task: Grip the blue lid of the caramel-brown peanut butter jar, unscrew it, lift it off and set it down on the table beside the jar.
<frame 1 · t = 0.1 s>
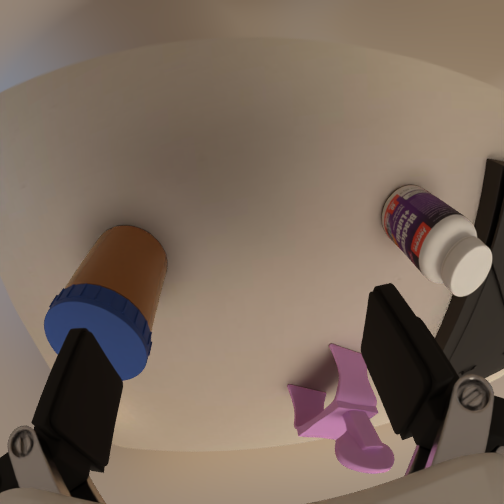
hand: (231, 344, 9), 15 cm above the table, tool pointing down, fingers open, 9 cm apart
toy chair: (325, 371, 34), on the table
jar: (129, 260, 24), on the table
pill bottle: (404, 211, 24), on the table
jar lid: (94, 341, 16), point 9 cm above the table, screwed on, not yet turned
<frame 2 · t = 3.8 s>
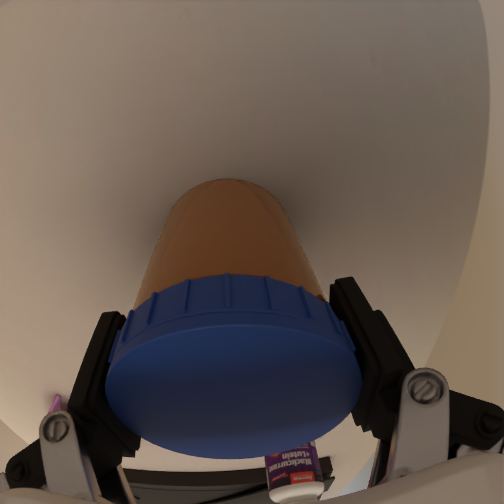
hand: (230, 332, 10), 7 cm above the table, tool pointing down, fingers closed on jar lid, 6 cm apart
jar: (227, 240, 16), on the table
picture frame: (213, 494, 40), on the table
pill bottle: (287, 435, 28), on the table
jar lid: (234, 404, 7), point 9 cm above the table, screwed on, not yet turned, touching gripper
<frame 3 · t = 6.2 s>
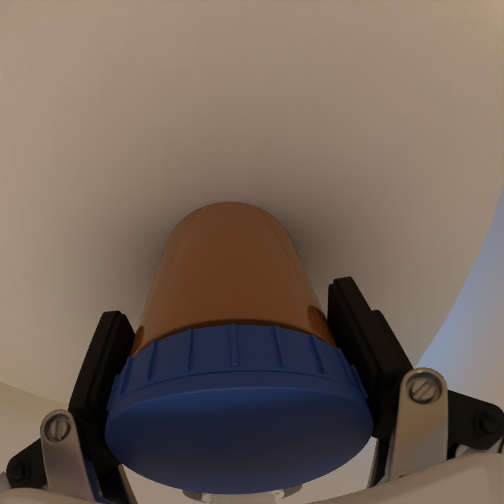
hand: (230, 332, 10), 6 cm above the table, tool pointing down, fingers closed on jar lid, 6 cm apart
jar: (229, 265, 15), on the table
jar lid: (240, 449, 7), point 10 cm above the table, turned 104° so far, risen 0.1 cm, still on its thread, touching gripper
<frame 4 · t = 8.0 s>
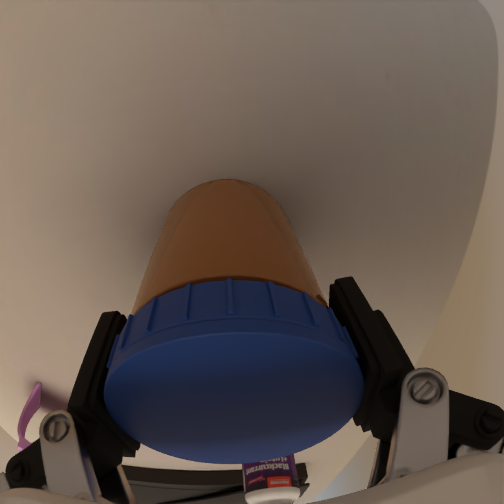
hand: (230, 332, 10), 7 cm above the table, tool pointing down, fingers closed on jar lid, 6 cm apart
toy chair: (70, 409, 24), on the table
jar: (226, 241, 16), on the table
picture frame: (185, 493, 39), on the table
pill bottle: (265, 439, 28), on the table
jar lid: (235, 410, 7), point 10 cm above the table, turned 109° so far, risen 0.2 cm, still on its thread, touching gripper
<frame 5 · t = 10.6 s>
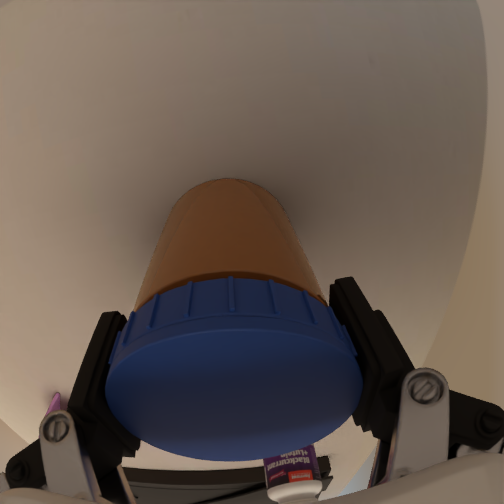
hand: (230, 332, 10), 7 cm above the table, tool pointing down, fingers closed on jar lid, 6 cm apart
jar: (227, 239, 16), on the table
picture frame: (211, 493, 40), on the table
pill bottle: (285, 434, 28), on the table
jar lid: (234, 407, 7), point 10 cm above the table, turned 207° so far, risen 0.3 cm, still on its thread, touching gripper
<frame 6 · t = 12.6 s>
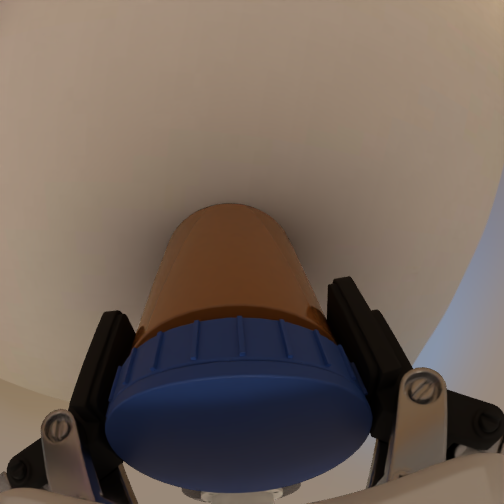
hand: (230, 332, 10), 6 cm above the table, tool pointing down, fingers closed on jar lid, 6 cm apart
jar: (229, 265, 16), on the table, touching gripper
jar lid: (239, 444, 7), point 10 cm above the table, turned 310° so far, risen 0.4 cm, still on its thread, touching gripper
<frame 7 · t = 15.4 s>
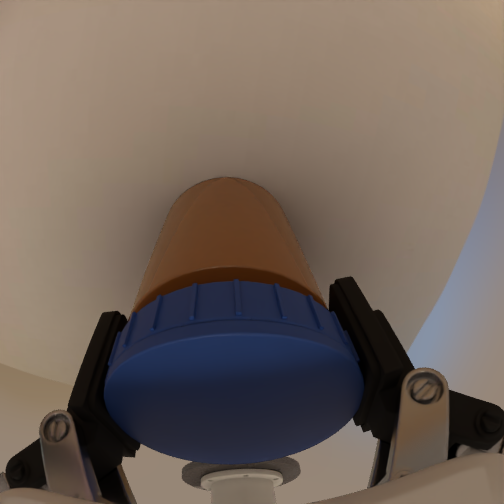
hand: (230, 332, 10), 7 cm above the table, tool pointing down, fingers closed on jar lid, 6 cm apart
jar: (226, 237, 16), on the table
jar lid: (235, 411, 7), point 10 cm above the table, off its thread, touching gripper
when the fingers open (1 cm above the table, at t = 22.6 s): jar lid drops 3 cm, point 1 cm above the table.
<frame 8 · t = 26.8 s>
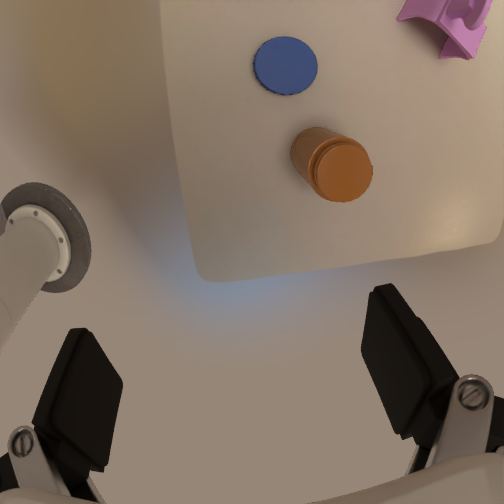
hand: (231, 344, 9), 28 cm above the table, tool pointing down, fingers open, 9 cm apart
toy chair: (427, 26, 26), on the table
jar: (317, 153, 35), on the table
jar lid: (286, 65, 28), point 1 cm above the table, off its thread
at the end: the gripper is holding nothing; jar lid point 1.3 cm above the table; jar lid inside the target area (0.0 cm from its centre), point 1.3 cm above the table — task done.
